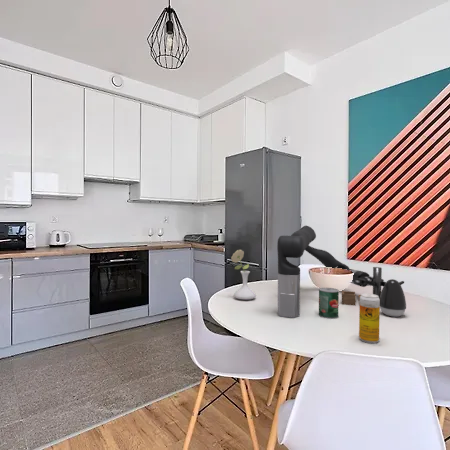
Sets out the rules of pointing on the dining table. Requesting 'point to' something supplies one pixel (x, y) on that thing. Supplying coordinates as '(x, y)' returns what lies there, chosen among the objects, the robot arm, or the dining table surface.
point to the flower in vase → (244, 291)
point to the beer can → (369, 318)
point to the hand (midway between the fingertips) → (381, 284)
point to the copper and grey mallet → (377, 278)
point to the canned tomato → (328, 303)
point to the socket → (348, 298)
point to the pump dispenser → (393, 298)
